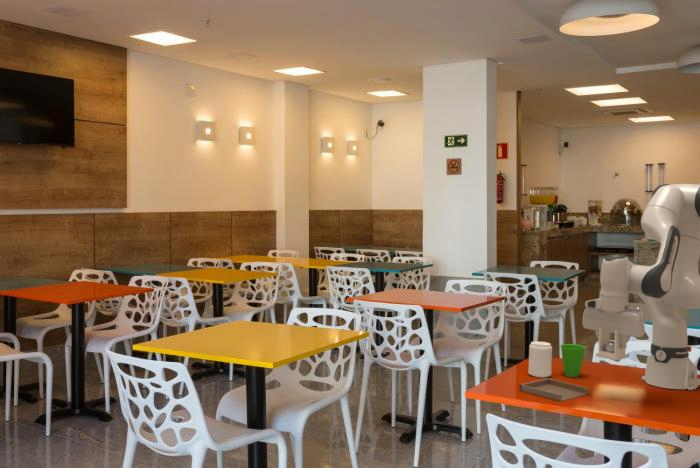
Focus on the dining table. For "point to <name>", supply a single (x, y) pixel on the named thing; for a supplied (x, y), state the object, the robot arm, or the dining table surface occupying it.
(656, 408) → the dining table surface
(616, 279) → the robot arm
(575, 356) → the cup
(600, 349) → the u-shaped napkin holder
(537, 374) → the beverage can
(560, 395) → the tray
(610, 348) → the ball
